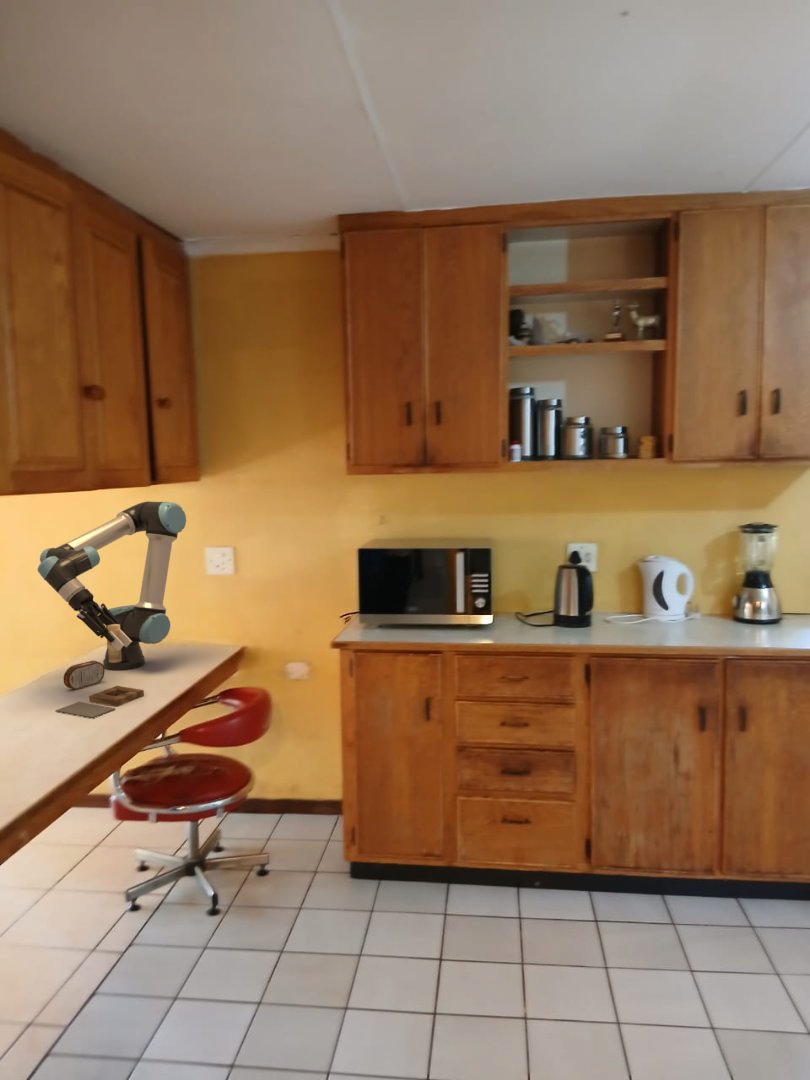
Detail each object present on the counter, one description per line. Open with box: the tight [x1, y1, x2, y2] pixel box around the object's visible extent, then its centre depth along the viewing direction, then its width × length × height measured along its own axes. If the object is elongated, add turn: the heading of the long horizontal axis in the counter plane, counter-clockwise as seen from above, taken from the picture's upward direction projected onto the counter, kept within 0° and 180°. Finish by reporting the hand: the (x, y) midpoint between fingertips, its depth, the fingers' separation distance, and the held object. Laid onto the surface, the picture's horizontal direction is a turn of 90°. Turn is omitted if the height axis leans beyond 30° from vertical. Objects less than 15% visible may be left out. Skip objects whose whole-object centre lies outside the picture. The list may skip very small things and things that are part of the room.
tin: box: [63, 660, 106, 690], centre depth 258 cm, size 15×3×8 cm, turn 149°
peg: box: [107, 624, 122, 663], centre depth 242 cm, size 4×4×12 cm
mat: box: [55, 701, 116, 719], centre depth 232 cm, size 9×16×1 cm, turn 66°
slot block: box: [88, 685, 145, 708], centre depth 244 cm, size 12×12×2 cm
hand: (125, 645), depth 241 cm, fingers closed on peg, 4 cm apart
